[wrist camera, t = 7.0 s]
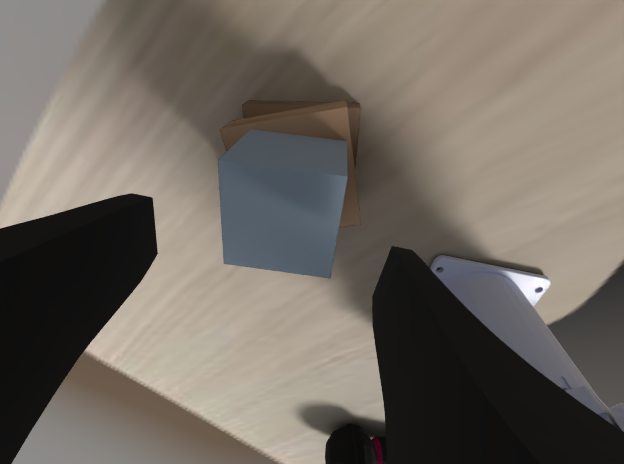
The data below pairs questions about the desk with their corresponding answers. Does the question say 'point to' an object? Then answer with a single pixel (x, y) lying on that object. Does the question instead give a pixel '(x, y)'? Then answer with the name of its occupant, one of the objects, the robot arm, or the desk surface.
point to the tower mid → (312, 123)
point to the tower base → (269, 107)
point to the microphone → (355, 447)
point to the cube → (282, 201)
